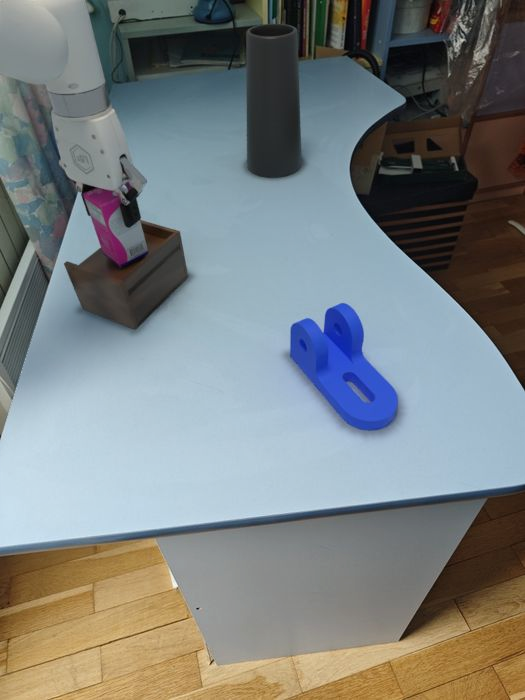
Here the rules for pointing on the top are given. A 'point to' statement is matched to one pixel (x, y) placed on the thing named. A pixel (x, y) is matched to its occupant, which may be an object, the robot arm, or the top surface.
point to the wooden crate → (131, 278)
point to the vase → (273, 100)
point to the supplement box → (114, 227)
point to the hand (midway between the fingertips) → (114, 216)
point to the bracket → (343, 367)
